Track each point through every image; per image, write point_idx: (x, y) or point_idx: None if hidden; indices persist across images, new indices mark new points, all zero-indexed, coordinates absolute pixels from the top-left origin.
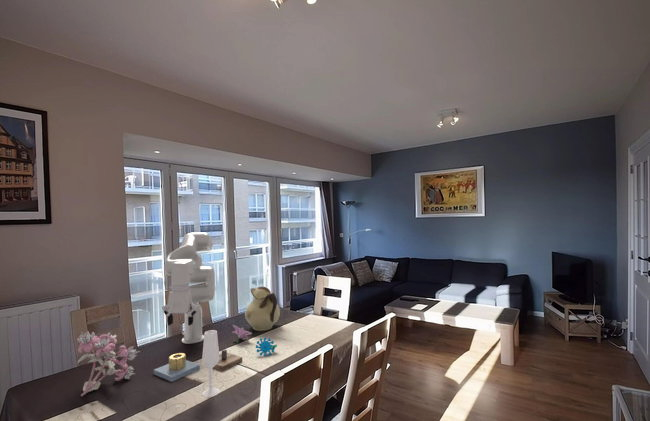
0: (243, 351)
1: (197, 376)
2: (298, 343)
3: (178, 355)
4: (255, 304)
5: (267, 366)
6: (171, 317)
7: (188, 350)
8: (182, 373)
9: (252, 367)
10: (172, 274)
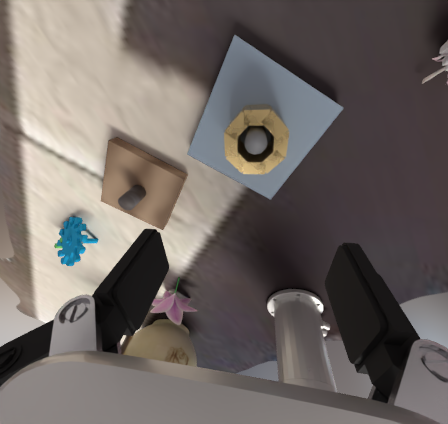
0: None
1: (168, 95)
2: (59, 266)
3: (258, 161)
4: None
5: (28, 166)
6: (355, 332)
7: (283, 259)
8: (214, 86)
9: (58, 160)
10: None
